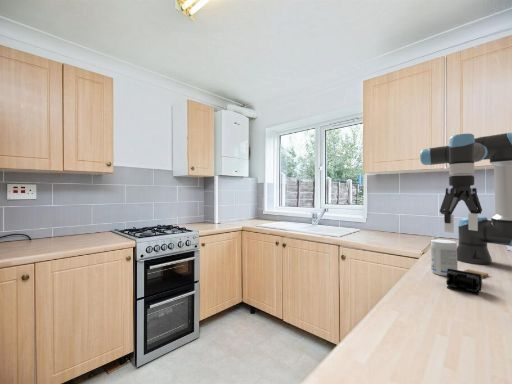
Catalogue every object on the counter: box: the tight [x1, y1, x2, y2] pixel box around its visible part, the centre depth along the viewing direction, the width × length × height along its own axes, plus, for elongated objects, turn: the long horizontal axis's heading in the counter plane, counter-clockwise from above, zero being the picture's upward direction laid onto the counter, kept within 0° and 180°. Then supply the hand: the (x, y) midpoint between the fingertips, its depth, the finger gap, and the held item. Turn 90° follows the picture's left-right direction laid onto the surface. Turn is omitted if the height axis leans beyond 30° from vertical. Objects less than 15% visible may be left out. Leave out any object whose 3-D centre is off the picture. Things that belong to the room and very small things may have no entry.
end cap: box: [445, 269, 483, 296], centre depth 97 cm, size 10×7×7 cm
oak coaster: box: [464, 268, 489, 279], centre depth 113 cm, size 7×7×1 cm
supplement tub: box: [430, 238, 458, 277], centre depth 115 cm, size 10×10×15 cm
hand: (461, 231), depth 97 cm, fingers open, 13 cm apart
